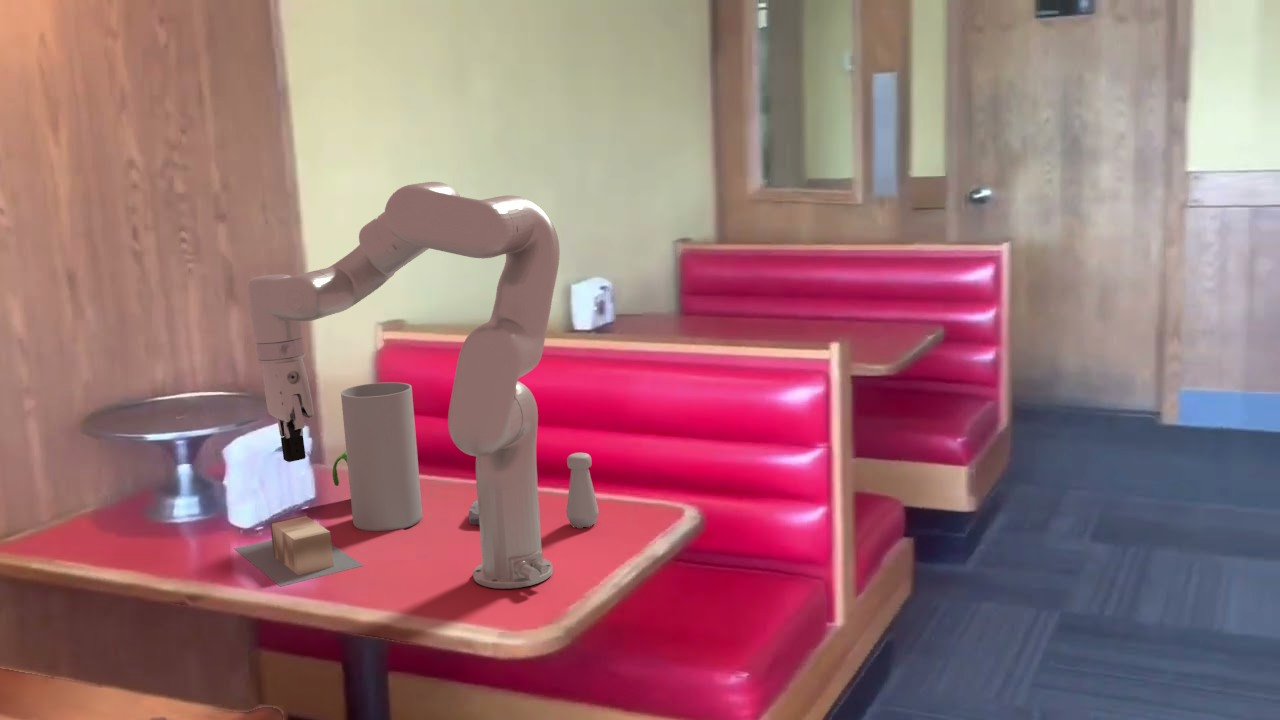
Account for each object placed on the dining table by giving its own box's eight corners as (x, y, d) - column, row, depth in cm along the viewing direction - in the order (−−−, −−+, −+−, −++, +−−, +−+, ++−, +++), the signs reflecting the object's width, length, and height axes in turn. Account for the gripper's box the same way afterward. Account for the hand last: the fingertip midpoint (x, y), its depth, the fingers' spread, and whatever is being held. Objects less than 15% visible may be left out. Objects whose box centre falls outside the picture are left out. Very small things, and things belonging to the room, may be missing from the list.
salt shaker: (605, 522, 221) (601, 451, 219) (588, 531, 216) (584, 460, 214) (578, 518, 224) (574, 448, 222) (560, 527, 219) (556, 456, 217)
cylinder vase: (340, 524, 227) (327, 391, 222) (397, 507, 236) (386, 379, 231) (378, 538, 218) (366, 400, 214) (436, 520, 227) (425, 387, 222)
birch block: (308, 548, 213) (333, 566, 204) (273, 556, 210) (298, 575, 200) (304, 515, 212) (330, 531, 203) (270, 522, 209) (294, 540, 199)
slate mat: (363, 567, 204) (363, 565, 203) (280, 588, 196) (280, 586, 196) (312, 532, 223) (311, 530, 223) (234, 550, 215) (234, 548, 215)
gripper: (318, 351, 197) (333, 462, 200) (287, 343, 209) (301, 448, 212) (272, 359, 193) (288, 472, 196) (243, 350, 205) (258, 457, 208)
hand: (294, 459), depth 204 cm, fingers closed
